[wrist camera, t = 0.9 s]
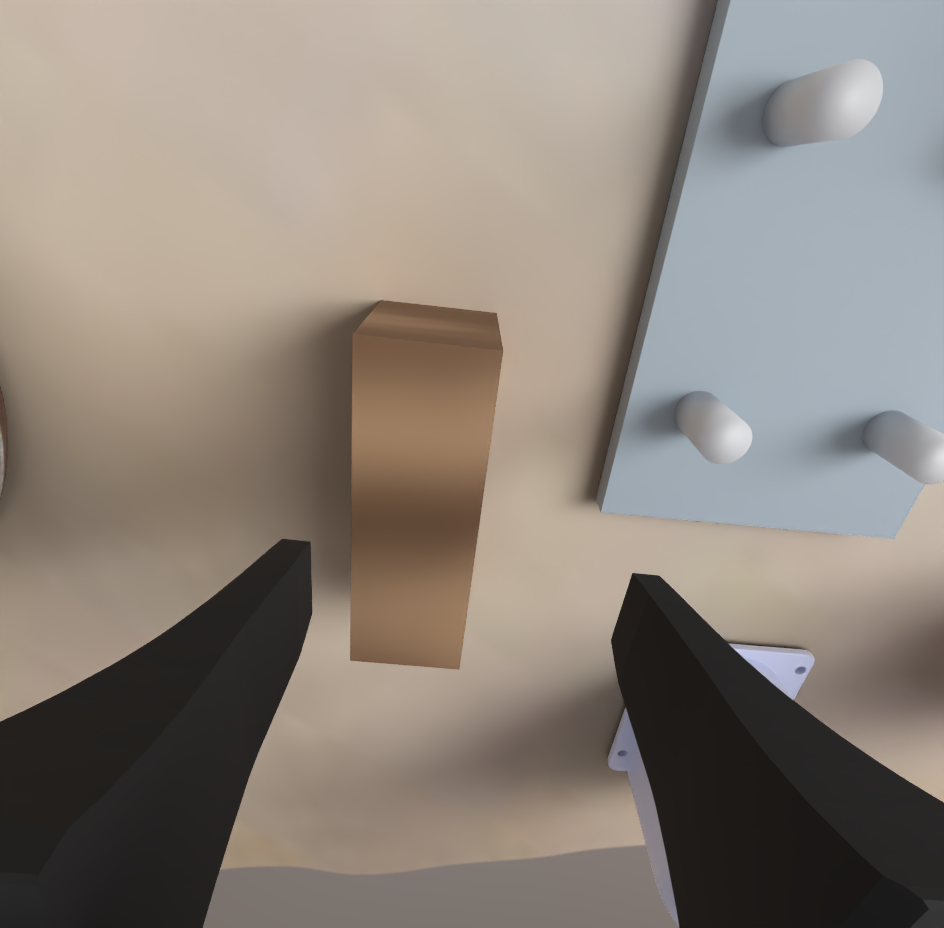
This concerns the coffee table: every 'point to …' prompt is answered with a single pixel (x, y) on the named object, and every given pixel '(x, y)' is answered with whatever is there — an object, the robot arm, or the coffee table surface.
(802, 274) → the peg board
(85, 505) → the coffee table surface
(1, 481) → the plant saucer
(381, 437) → the walnut bar
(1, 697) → the coffee table surface
